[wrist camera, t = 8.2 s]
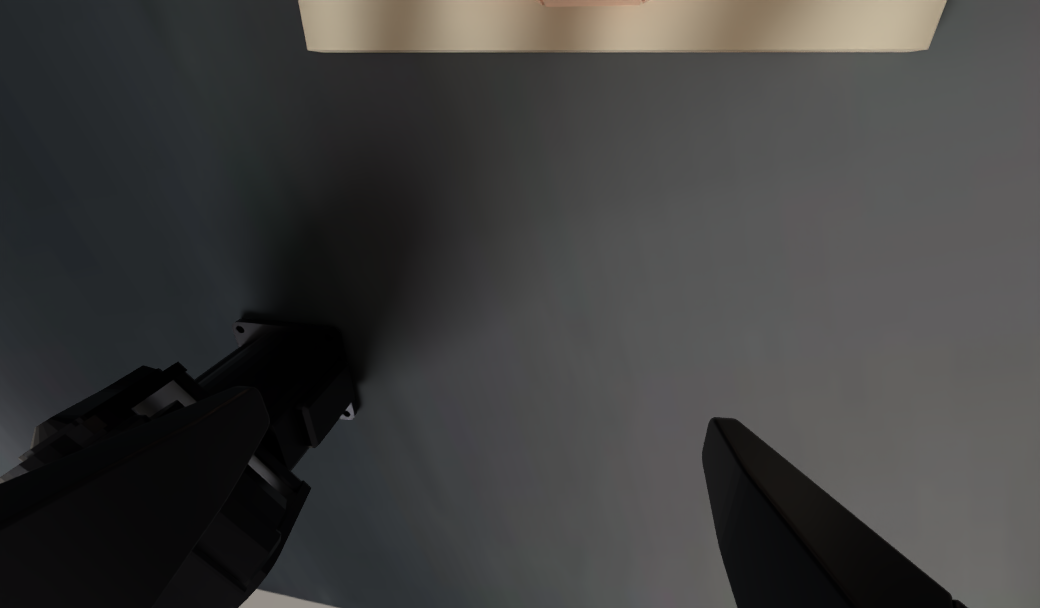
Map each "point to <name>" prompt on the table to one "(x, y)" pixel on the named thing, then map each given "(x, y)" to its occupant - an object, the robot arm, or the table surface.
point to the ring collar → (589, 3)
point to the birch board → (619, 26)
